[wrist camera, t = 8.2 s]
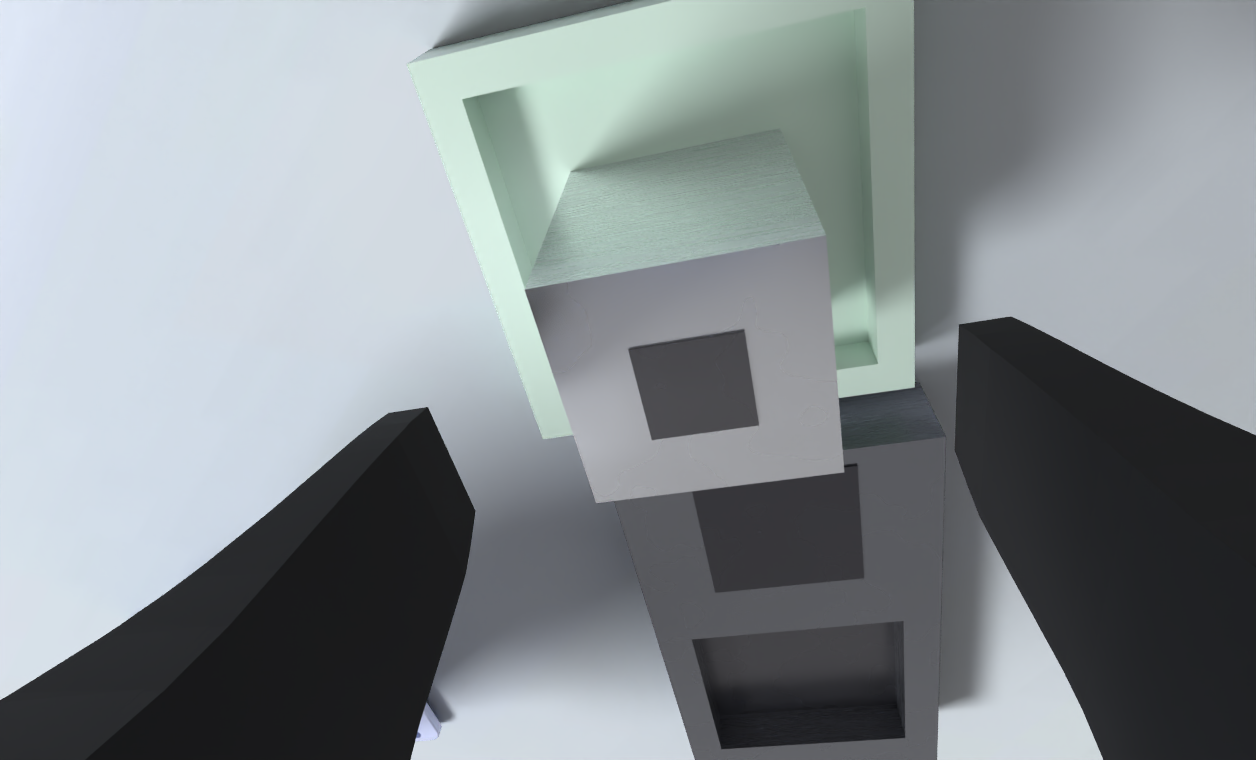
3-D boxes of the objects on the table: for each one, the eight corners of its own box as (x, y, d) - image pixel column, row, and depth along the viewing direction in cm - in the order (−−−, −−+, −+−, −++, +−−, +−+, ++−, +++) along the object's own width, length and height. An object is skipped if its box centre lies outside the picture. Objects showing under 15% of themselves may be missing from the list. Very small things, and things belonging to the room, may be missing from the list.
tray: (551, 404, 19) (543, 439, 18) (430, 49, 15) (406, 63, 13) (898, 353, 18) (914, 387, 17) (891, -63, 13) (914, -59, 12)
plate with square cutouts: (702, 729, 28) (703, 789, 26) (614, 425, 20) (607, 481, 18) (918, 715, 26) (936, 777, 24) (919, 382, 18) (946, 438, 16)
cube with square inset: (617, 345, 18) (595, 505, 13) (570, 171, 15) (524, 291, 11) (799, 316, 17) (844, 474, 12) (780, 128, 14) (826, 236, 10)
